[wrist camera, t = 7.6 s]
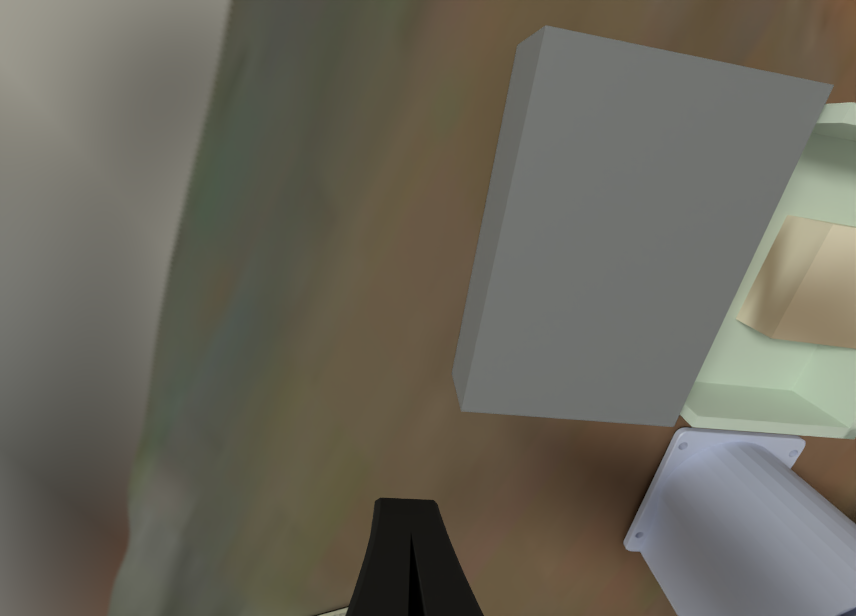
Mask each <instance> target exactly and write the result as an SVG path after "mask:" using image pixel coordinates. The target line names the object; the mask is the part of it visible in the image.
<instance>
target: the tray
mask: <svg viewBox="0 0 856 616" xmlns="http://www.w3.org/2000/svg"><path fill="white" fill-rule="evenodd" d="M787 215H792V216H797V217H803V218H809V219H814V220H820V221H826V222H832V223H837V224H843V225H849V226H855V227H856V103H853V102H849V103H834V104H825V105H824V107H823V109H822V112H821V114H820V116H819V118H818V120H817V122H816V124H815V127H814V129H813V131H812V133H811V135H810V137H809V139H808V141H807V144H806V146H805V148H804V150H803V152H802V154H801V156H800V159H799V161H798V163H797V165H796V167H795V169H794V171H793V173H792V176H791V178H790V180H789V182H788V184H787V186H786V188H785V191H784V193H783V195H782V197H781V199H780V201H779V203H778V205H777V208H776V210H775V212H774V214H773V216H772V218H771V220H770V222H769V225H768V227H767V229H766V231H765V233H764V235H763V237H762V240H761V242H760V244H759V246H758V248H757V250H756V252H755V254H754V257H753V259H752V261H751V263H750V265H749V267H748V269H747V272H746V274H745V276H744V278H743V280H742V282H741V284H740V286H739V289H738V291H737V293H736V295H735V297H734V299H733V301H732V304H731V306H730V308H729V310H728V312H727V314H726V316H725V318H724V321H723V323H722V325H721V327H720V329H719V331H718V333H717V335H716V338H715V340H714V342H713V344H712V346H711V348H710V350H709V353H708V355H707V357H706V359H705V361H704V363H703V365H702V367H701V370H700V372H699V374H698V376H697V378H696V380H695V382H694V385H693V387H692V389H691V391H690V393H689V395H688V397H687V399H686V402H685V404H684V406H683V408H682V410H681V412H680V415H681V416H682V417H683V418H684V419H685V420H686V421H687V422H688V423H689V424H690V425H691V426H692V427H696V428H710V429H723V430H737V431H750V432H764V433H777V434H791V435H804V436H818V437H831V438H845V439H854V438H855V437H856V349H853V348H845V347H837V346H829V345H821V344H813V343H805V342H797V341H789V340H781V339H773V338H770V337H768V336H766V335H764V334H762V333H760V332H759V331H757V330H755V329H753V328H751V327H749V326H748V325H746V324H744V323H742V322H740V321H738V320H737V319H736V317H737V315H738V313H739V311H740V309H741V307H742V305H743V303H744V301H745V299H746V297H747V295H748V293H749V291H750V289H751V287H752V285H753V283H754V281H755V279H756V277H757V275H758V273H759V271H760V269H761V267H762V265H763V263H764V261H765V259H766V257H767V255H768V253H769V251H770V249H771V247H772V245H773V243H774V241H775V239H776V237H777V235H778V233H779V231H780V229H781V227H782V224H783V222H784V220H785V218H786V216H787Z"/></svg>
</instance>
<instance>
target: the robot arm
mask: <svg viewBox="0 0 856 616" xmlns="http://www.w3.org/2000/svg"><path fill="white" fill-rule="evenodd" d="M804 447H805V441H804V440H803V439H802V438H801V437H799V436H796V435H783V434H769V433H756V432H742V431H729V430H715V429H702V428H688V427H684V428H680V429H678V430H677V431H676V432H675V434H674V436H673V438H672V440H671V442H670V444H669V446H668V449H667V451H666V453H665V455H664V457H663V459H662V461H661V463H660V465H659V468H658V470H657V472H656V474H655V476H654V478H653V480H652V482H651V484H650V487H649V489H648V491H647V493H646V495H645V497H644V499H643V501H642V503H641V506H640V508H639V510H638V512H637V514H636V516H635V518H634V520H633V522H632V525H631V527H630V529H629V531H628V533H627V535H626V537H625V539H624V542H623V544H624V546H625V548H626V549H627V550H628V551H639V552H640V553H641V554H642V556H643V558H644V559H645V561H646V563H647V564H648V566H649V568H650V569H651V571H652V573H653V575H654V576H655V578H656V580H657V581H658V583H659V585H660V586H661V588H662V590H663V591H664V593H665V595H666V597H667V598H668V600H669V602H670V603H671V605H672V607H673V608H674V610H675V612H676V613H677V615H678V616H856V524H855V523H854V522H853V521H851V520H850V519H849V518H848V517H847V516H846V515H844V514H843V513H842V512H841V511H840V510H838V509H837V508H836V507H835V506H834V505H833V504H831V503H830V502H829V501H828V500H827V499H825V498H824V497H823V496H822V495H821V494H820V493H818V492H817V491H816V490H815V489H814V488H812V487H811V486H810V485H809V484H808V483H806V482H805V481H804V480H803V479H802V478H801V477H799V476H798V475H797V474H796V473H795V472H793V471H792V470H791V467H792V466H793V464H794V463H795V461H796V460H797V458H798V456H799V455H800V453H801V452H802V450H803V449H804ZM345 616H484V615H483V613H482V611H481V609H480V607H479V605H478V603H477V601H476V598H475V596H474V594H473V592H472V590H471V588H470V586H469V583H468V581H467V579H466V577H465V575H464V573H463V570H462V568H461V566H460V563H459V561H458V559H457V556H456V554H455V551H454V549H453V547H452V544H451V542H450V539H449V536H448V534H447V531H446V528H445V526H444V523H443V520H442V517H441V514H440V511H439V508H438V505H437V503H436V502H435V501H434V500H421V499H398V498H379V499H378V500H376V501H375V505H374V512H373V520H372V527H371V534H370V539H369V543H368V546H367V550H366V554H365V558H364V561H363V564H362V567H361V571H360V574H359V577H358V580H357V583H356V586H355V589H354V593H353V596H352V598H351V601H350V604H349V607H348V610H347V612H346V615H345Z"/></svg>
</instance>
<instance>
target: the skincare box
mask: <svg viewBox="0 0 856 616" xmlns="http://www.w3.org/2000/svg"><path fill="white" fill-rule="evenodd" d="M347 610H348V607H347V608H344V609H340V610H337V611H333V612H329V613H326V614H322V615H319V616H345V615H346V612H347Z"/></svg>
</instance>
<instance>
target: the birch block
mask: <svg viewBox="0 0 856 616" xmlns="http://www.w3.org/2000/svg"><path fill="white" fill-rule="evenodd" d="M736 319H737V320H738V321H740V322H742V323H744V324H746V325H748V326H749V327H751V328H753V329H755V330H757V331H759V332H760V333H762V334H764V335H766V336H768V337H770V338H773V339H781V340H789V341H797V342H805V343H813V344H821V345H829V346H837V347H845V348H853V349H856V227H855V226H849V225H843V224H837V223H832V222H826V221H820V220H814V219H809V218H803V217H797V216H792V215H787V216H786V218H785V220H784V222H783V224H782V227H781V229H780V231H779V233H778V235H777V237H776V239H775V241H774V243H773V245H772V247H771V249H770V251H769V253H768V255H767V257H766V259H765V261H764V263H763V265H762V267H761V269H760V271H759V273H758V275H757V277H756V279H755V281H754V283H753V285H752V287H751V289H750V291H749V293H748V295H747V297H746V299H745V301H744V303H743V305H742V307H741V309H740V311H739V313H738V315H737V317H736Z"/></svg>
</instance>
